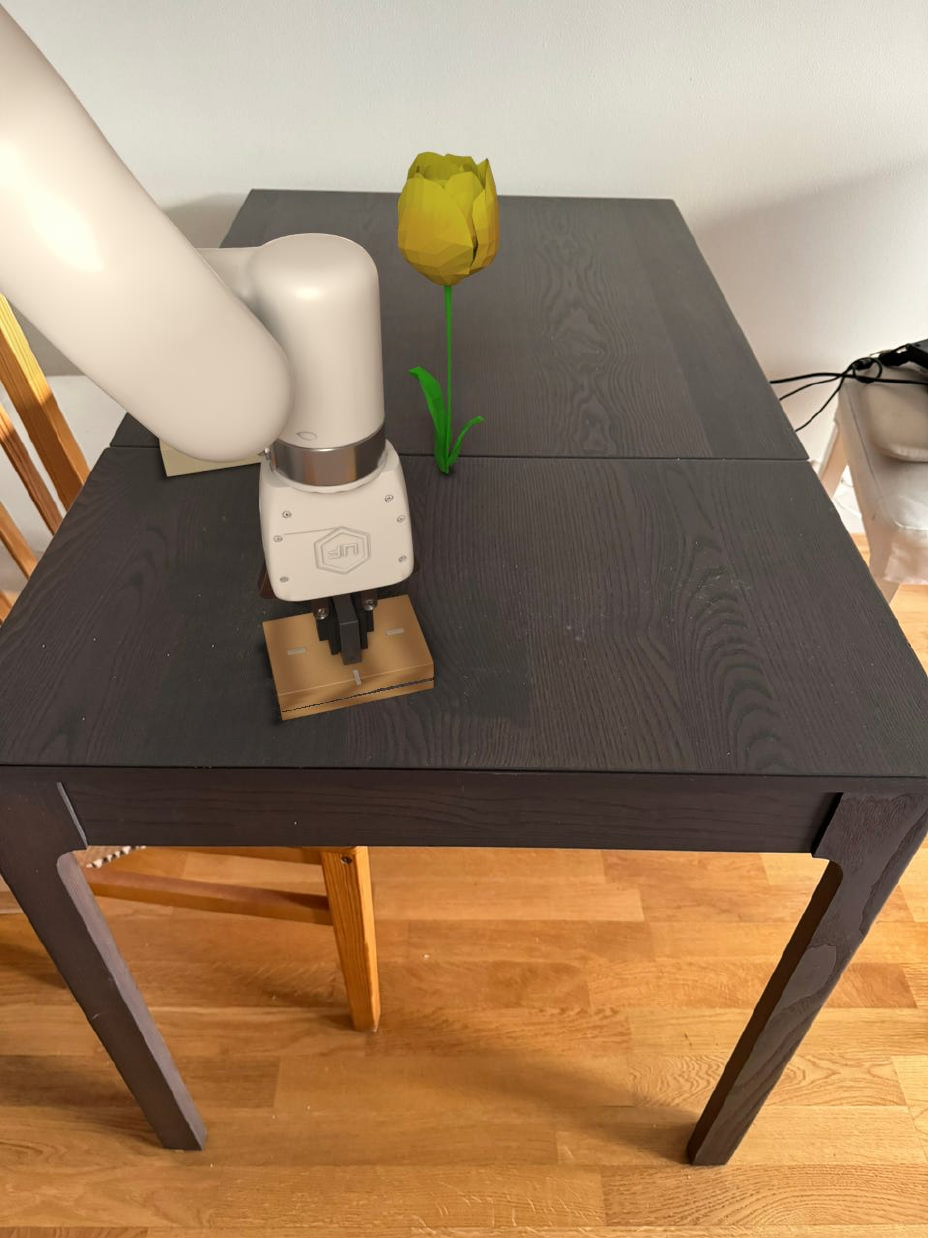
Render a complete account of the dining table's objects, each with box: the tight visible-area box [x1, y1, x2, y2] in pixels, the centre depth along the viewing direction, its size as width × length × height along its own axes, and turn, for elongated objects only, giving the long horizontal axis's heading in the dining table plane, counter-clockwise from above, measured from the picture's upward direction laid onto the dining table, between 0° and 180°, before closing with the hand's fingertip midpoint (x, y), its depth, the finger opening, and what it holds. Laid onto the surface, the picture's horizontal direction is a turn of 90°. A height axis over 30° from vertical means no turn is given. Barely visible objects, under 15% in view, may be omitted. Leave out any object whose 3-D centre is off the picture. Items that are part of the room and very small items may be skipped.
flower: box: [396, 151, 501, 474], centre depth 83 cm, size 9×8×30 cm
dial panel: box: [261, 594, 435, 721], centre depth 74 cm, size 12×9×3 cm
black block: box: [331, 593, 361, 665], centre depth 71 cm, size 5×1×5 cm, turn 16°
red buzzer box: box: [158, 438, 263, 477], centre depth 95 cm, size 12×9×5 cm
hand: (346, 638), depth 72 cm, fingers closed
